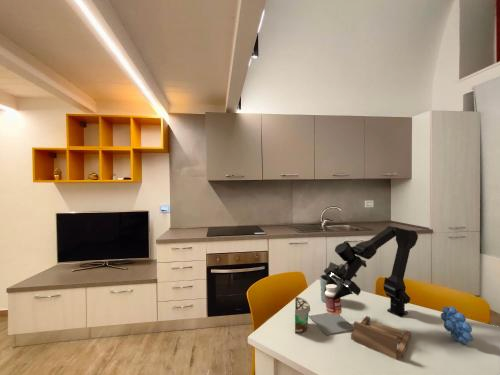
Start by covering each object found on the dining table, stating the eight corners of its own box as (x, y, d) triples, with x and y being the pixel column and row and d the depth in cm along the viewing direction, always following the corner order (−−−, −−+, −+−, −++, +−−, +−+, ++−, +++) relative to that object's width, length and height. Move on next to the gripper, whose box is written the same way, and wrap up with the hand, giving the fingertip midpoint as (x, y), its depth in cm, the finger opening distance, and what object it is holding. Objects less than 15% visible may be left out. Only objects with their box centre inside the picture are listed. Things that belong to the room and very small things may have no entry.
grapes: (432, 331, 96) (432, 302, 96) (446, 330, 97) (446, 300, 97) (462, 351, 85) (462, 317, 85) (477, 349, 86) (477, 315, 86)
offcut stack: (369, 326, 101) (369, 320, 101) (403, 336, 94) (403, 330, 94) (366, 333, 96) (366, 327, 96) (402, 344, 89) (402, 338, 89)
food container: (311, 337, 92) (311, 311, 92) (294, 335, 93) (295, 310, 93) (309, 320, 104) (309, 297, 104) (295, 318, 105) (295, 296, 105)
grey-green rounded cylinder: (323, 294, 129) (323, 272, 129) (342, 300, 123) (343, 276, 123) (317, 301, 121) (317, 278, 121) (337, 307, 115) (337, 283, 115)
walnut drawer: (366, 320, 104) (366, 304, 104) (411, 336, 93) (411, 318, 93) (350, 339, 91) (350, 321, 91) (400, 361, 79) (400, 340, 79)
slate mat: (335, 312, 111) (335, 311, 111) (356, 329, 97) (356, 328, 97) (308, 316, 107) (308, 315, 107) (326, 335, 93) (326, 334, 93)
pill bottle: (338, 317, 97) (335, 289, 98) (324, 313, 101) (321, 287, 102) (344, 311, 102) (341, 284, 102) (330, 307, 106) (327, 282, 107)
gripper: (327, 250, 112) (306, 276, 109) (354, 262, 94) (330, 293, 91) (341, 265, 114) (321, 291, 111) (370, 280, 96) (347, 311, 93)
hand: (329, 296), depth 102 cm, fingers closed on pill bottle, 6 cm apart
